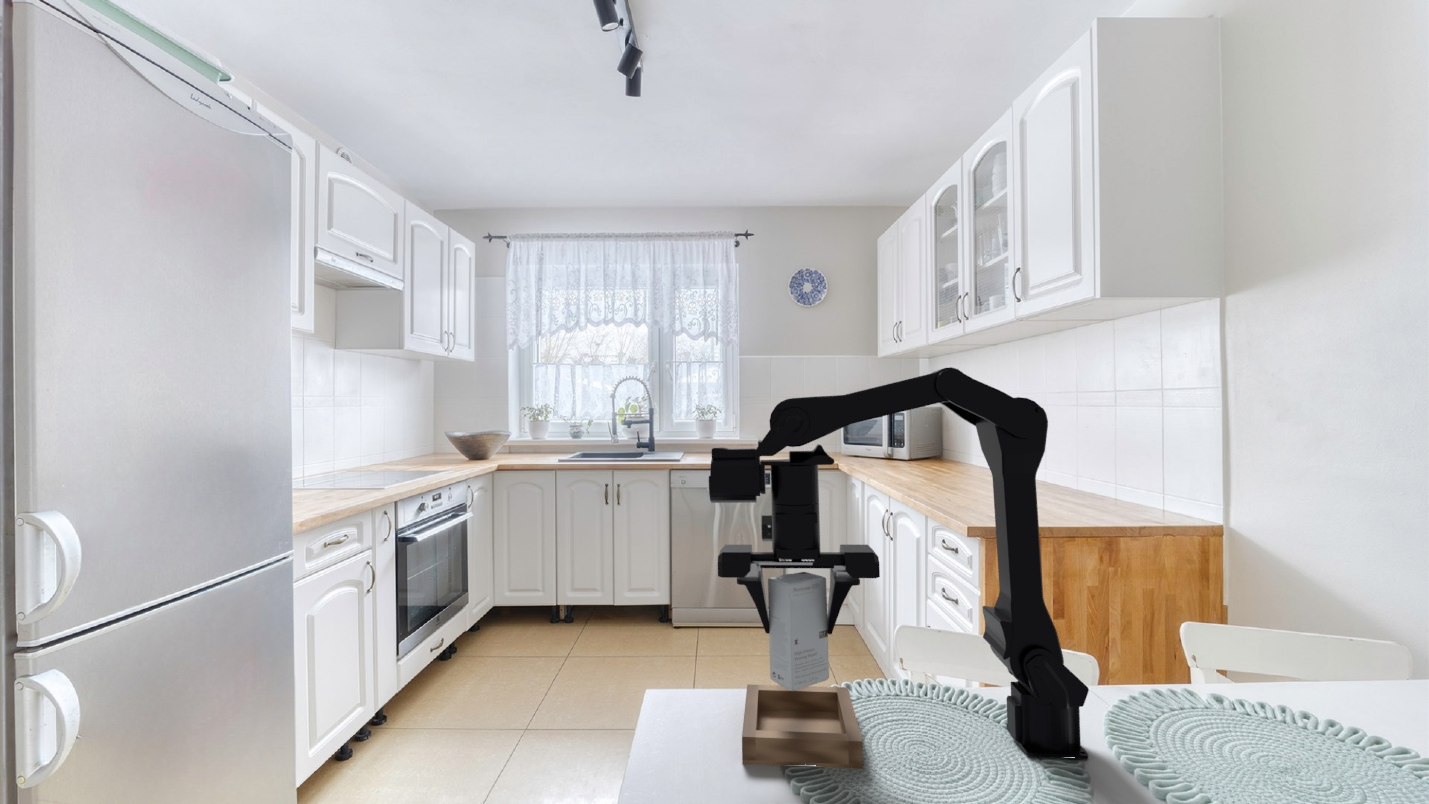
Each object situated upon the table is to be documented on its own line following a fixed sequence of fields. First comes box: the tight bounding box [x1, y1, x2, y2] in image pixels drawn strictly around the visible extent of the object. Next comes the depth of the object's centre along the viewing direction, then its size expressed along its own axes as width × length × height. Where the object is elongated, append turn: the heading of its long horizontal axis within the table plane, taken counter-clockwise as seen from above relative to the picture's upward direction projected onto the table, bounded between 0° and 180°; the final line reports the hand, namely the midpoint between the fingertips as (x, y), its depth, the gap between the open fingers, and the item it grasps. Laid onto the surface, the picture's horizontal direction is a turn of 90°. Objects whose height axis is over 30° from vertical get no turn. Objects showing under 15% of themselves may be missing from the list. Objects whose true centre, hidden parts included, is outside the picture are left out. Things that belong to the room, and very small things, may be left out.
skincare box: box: [767, 571, 830, 691], centre depth 72 cm, size 6×4×12 cm
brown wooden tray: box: [741, 684, 864, 770], centre depth 71 cm, size 13×13×3 cm
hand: (798, 632), depth 72 cm, fingers closed on skincare box, 7 cm apart
